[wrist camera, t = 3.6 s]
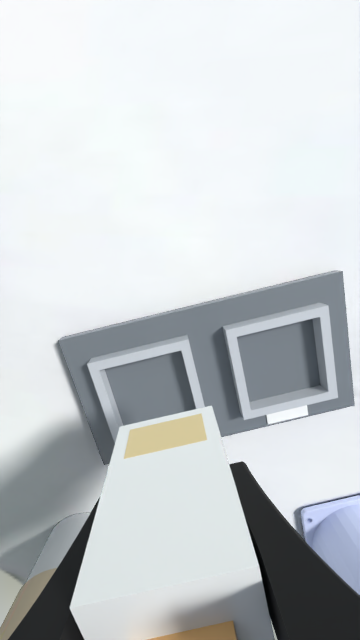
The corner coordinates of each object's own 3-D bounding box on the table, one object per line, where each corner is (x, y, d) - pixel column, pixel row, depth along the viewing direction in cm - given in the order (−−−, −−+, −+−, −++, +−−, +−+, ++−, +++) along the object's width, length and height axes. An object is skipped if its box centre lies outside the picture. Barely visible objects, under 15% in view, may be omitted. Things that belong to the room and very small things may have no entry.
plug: (228, 481, 12) (295, 728, 6) (143, 500, 12) (118, 767, 6) (211, 405, 11) (270, 602, 5) (119, 426, 11) (57, 649, 5)
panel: (347, 399, 20) (364, 413, 19) (106, 457, 21) (100, 475, 19) (335, 270, 18) (353, 272, 16) (62, 336, 18) (51, 345, 17)
